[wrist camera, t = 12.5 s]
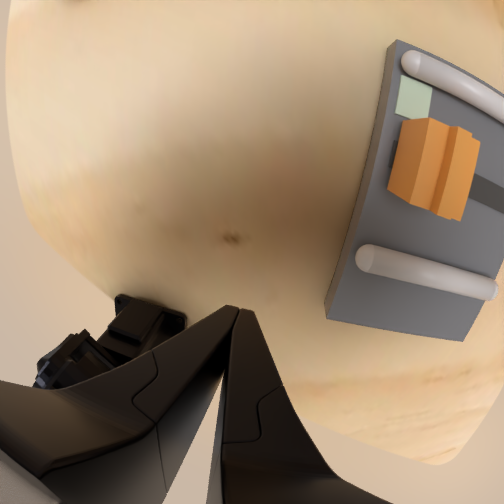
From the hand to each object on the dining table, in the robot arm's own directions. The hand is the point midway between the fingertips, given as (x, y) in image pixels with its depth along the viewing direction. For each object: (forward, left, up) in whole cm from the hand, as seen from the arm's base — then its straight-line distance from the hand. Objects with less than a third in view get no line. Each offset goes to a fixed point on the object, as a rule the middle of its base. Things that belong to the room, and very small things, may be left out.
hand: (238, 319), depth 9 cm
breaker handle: (+6, -7, -9) cm, 13 cm away
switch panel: (+4, -11, -11) cm, 16 cm away
